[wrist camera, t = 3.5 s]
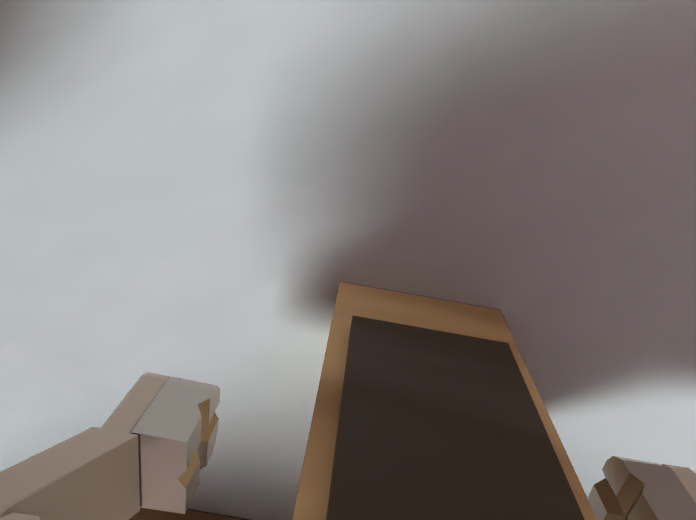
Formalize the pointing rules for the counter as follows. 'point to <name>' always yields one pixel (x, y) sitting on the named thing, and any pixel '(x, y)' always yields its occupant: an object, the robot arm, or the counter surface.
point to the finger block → (430, 419)
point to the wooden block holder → (177, 515)
